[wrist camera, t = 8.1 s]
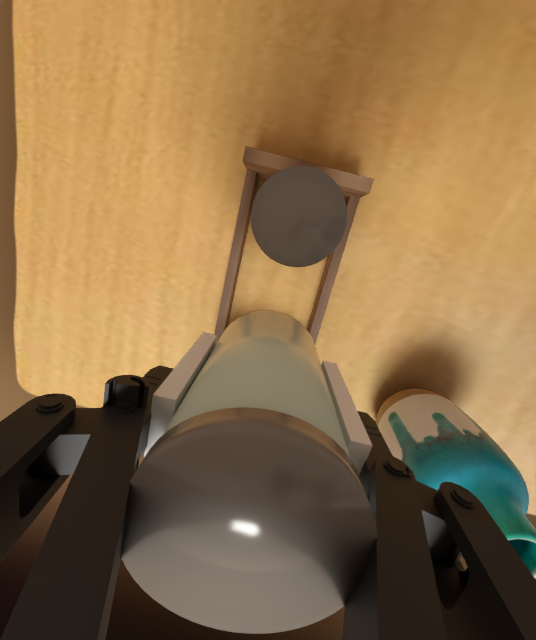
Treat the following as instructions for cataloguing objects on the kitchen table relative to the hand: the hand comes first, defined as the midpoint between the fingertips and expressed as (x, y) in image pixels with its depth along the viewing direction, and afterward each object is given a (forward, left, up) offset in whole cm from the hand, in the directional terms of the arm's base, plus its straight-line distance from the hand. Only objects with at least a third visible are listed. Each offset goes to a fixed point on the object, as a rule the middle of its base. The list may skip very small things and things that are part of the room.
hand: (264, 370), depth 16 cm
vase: (-21, +11, -21) cm, 32 cm away
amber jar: (0, -9, -21) cm, 22 cm away
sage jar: (0, 0, -1) cm, 1 cm away
